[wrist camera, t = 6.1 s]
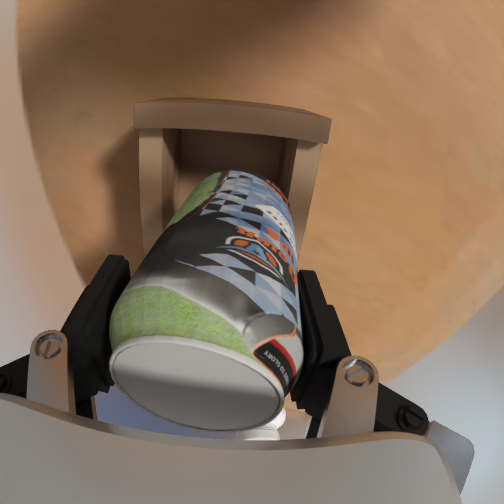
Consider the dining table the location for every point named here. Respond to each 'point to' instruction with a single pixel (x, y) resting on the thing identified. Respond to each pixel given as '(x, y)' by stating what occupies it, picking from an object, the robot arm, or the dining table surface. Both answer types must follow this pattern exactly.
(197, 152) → the holder
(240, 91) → the dining table surface
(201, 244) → the beverage can
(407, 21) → the dining table surface
